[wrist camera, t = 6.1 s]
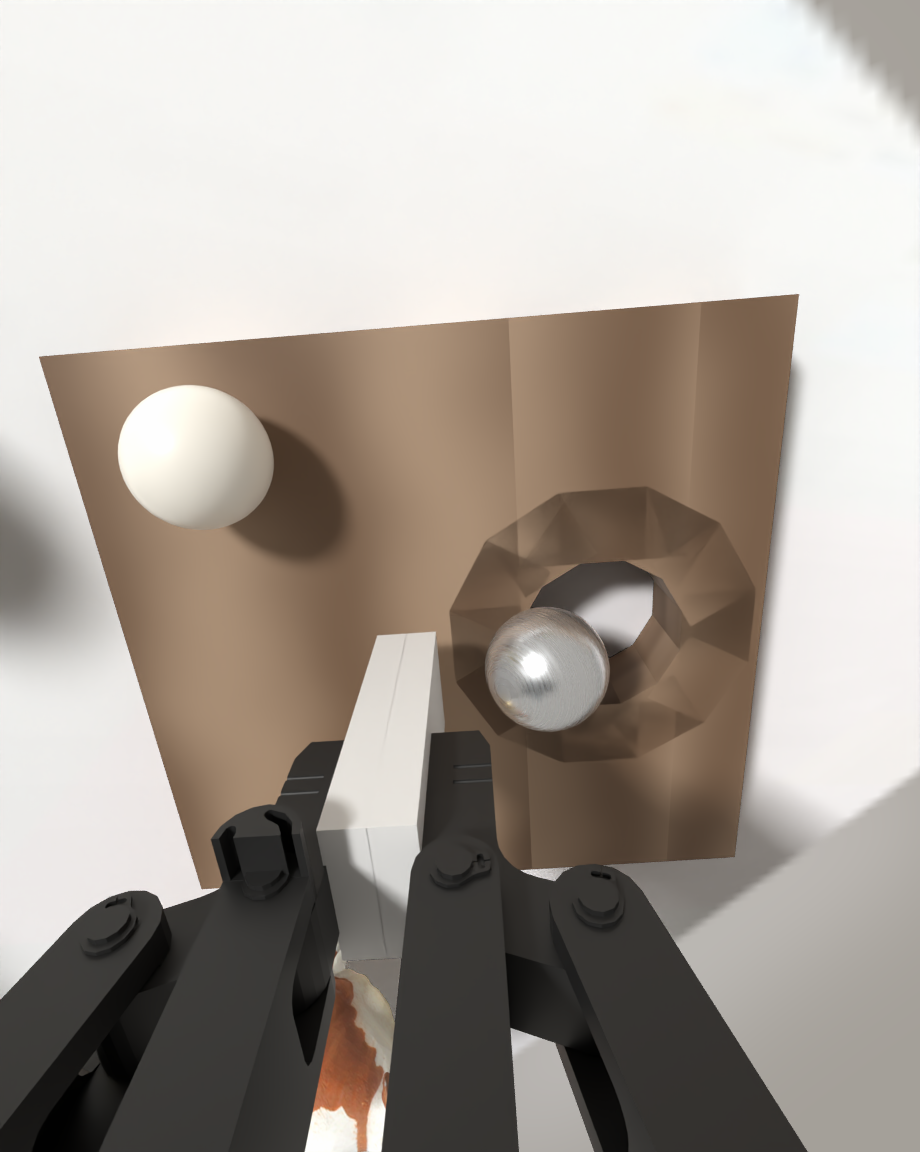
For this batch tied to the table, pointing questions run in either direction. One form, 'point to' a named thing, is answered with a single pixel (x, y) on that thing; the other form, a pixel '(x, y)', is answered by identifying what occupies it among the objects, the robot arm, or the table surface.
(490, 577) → the board
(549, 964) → the robot arm
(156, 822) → the table surface
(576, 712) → the steel ball
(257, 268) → the table surface
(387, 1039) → the bull figurine
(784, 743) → the table surface
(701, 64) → the table surface
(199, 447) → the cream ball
